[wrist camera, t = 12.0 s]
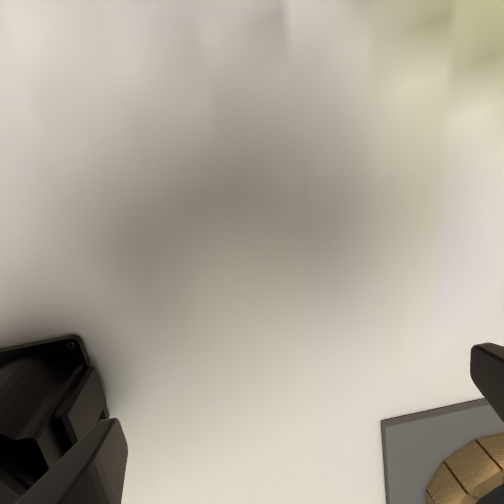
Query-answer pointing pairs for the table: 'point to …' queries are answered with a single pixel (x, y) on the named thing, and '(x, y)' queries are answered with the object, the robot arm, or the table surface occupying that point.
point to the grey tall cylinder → (493, 496)
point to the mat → (430, 445)
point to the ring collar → (469, 472)
